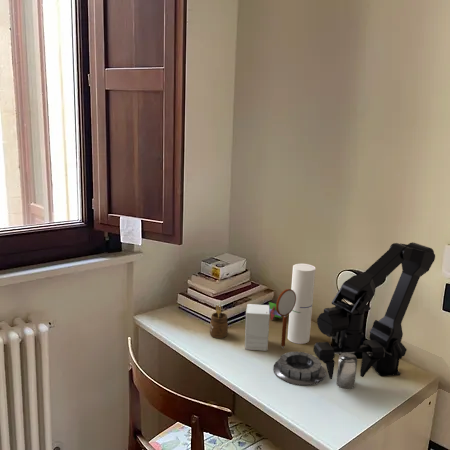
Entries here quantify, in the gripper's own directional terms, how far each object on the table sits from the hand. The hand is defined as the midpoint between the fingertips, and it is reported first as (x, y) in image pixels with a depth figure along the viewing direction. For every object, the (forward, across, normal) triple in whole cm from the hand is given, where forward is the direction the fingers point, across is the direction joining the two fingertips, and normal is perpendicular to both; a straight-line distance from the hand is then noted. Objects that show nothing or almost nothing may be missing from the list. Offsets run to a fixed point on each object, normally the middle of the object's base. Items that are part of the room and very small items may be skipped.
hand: (346, 377), depth 144 cm
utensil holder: (+2, +31, -33) cm, 45 cm away
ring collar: (+2, +11, -8) cm, 14 cm away
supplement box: (+2, +20, -25) cm, 32 cm away
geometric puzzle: (+2, +9, -44) cm, 45 cm away
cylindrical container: (+2, +5, -28) cm, 29 cm away
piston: (+2, 0, 0) cm, 2 cm away
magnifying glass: (+2, +12, -22) cm, 25 cm away
